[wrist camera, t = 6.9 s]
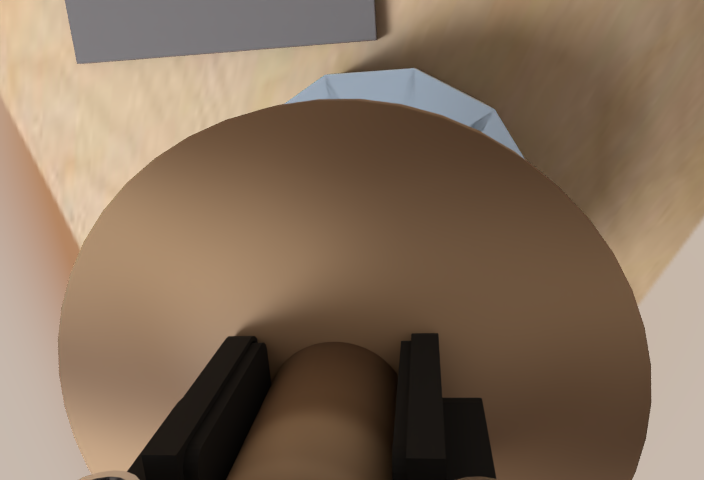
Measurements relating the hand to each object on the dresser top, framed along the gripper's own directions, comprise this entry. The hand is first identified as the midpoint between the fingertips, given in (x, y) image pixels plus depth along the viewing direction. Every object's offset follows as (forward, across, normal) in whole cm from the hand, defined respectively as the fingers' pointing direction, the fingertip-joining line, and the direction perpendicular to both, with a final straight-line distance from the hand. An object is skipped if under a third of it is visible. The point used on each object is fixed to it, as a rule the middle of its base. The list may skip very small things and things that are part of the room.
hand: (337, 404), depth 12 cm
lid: (+1, 0, 0) cm, 1 cm away
